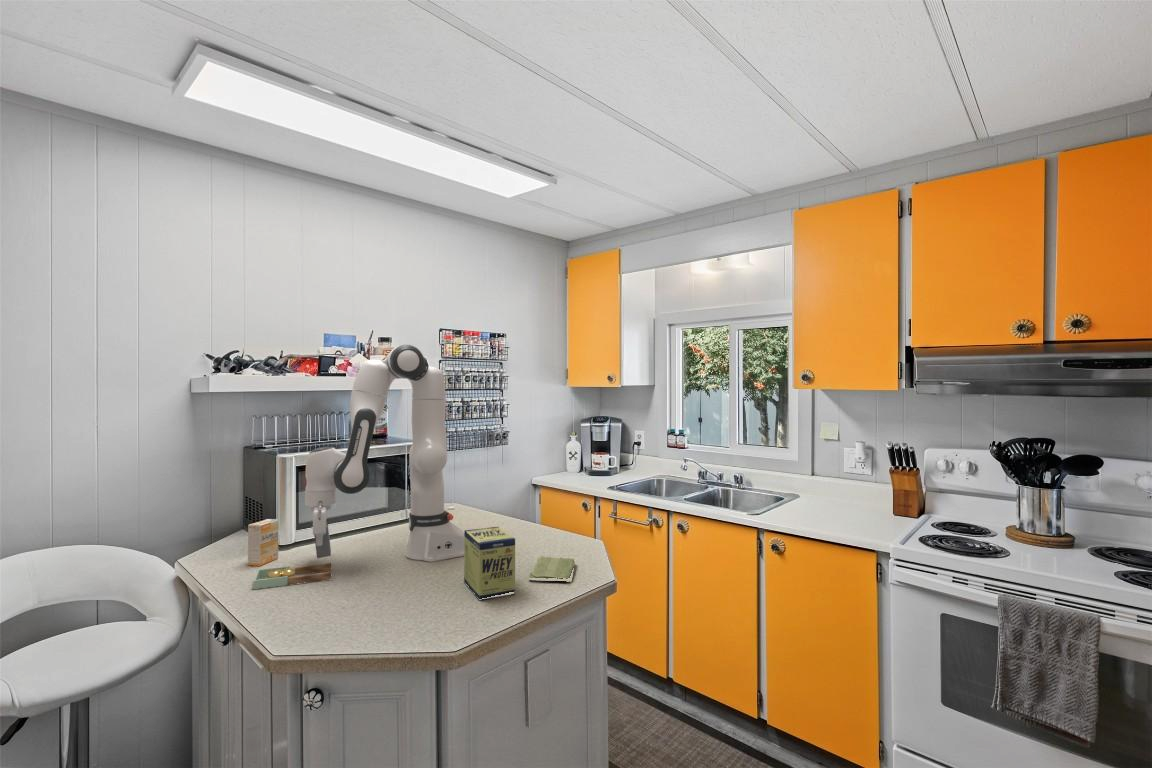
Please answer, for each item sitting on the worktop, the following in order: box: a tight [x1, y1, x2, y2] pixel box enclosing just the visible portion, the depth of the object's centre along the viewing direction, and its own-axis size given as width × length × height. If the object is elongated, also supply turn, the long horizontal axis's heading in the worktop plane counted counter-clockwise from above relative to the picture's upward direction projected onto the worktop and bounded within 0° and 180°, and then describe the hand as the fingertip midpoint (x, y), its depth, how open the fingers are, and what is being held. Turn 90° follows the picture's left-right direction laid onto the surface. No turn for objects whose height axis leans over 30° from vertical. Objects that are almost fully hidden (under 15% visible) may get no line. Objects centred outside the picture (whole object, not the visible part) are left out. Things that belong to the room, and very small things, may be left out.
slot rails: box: [287, 562, 332, 586], centre depth 165 cm, size 12×10×2 cm
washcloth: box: [529, 555, 575, 579], centre depth 170 cm, size 13×18×3 cm
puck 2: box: [282, 567, 296, 577], centre depth 163 cm, size 4×4×3 cm
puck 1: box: [267, 569, 282, 579], centre depth 162 cm, size 4×4×3 cm
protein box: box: [463, 526, 516, 599], centre depth 157 cm, size 10×16×16 cm
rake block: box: [313, 522, 332, 560], centre depth 175 cm, size 4×6×9 cm
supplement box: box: [247, 518, 280, 567], centre depth 179 cm, size 8×5×13 cm, turn 168°
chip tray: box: [252, 565, 291, 590], centre depth 161 cm, size 8×10×2 cm
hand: (319, 542), depth 175 cm, fingers closed on rake block, 5 cm apart
